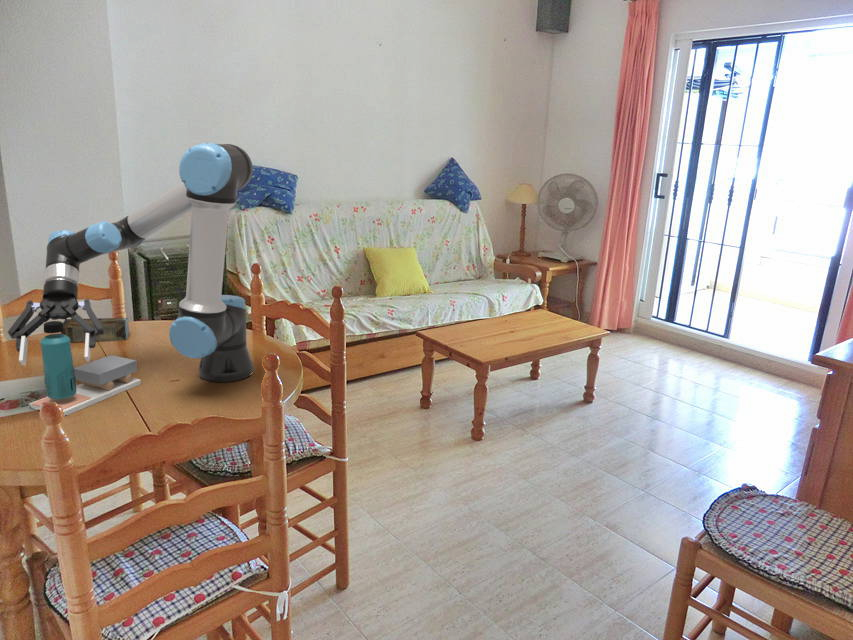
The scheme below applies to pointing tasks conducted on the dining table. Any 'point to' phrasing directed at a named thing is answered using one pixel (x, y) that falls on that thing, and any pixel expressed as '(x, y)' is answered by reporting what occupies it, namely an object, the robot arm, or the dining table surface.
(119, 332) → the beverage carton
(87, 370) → the slab
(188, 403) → the dining table surface
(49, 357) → the beverage bottle
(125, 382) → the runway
